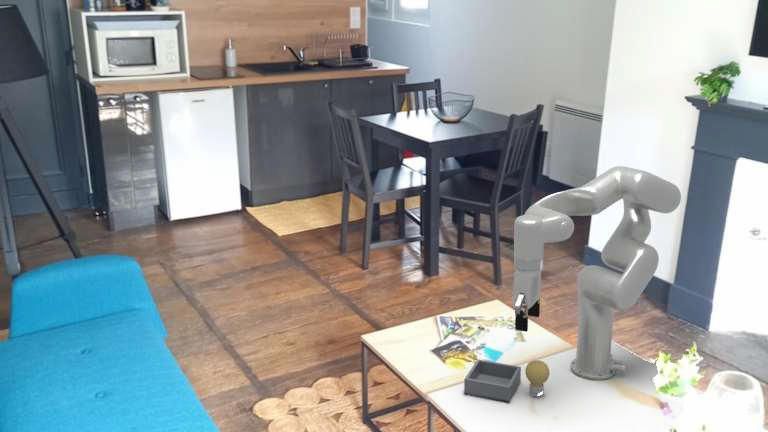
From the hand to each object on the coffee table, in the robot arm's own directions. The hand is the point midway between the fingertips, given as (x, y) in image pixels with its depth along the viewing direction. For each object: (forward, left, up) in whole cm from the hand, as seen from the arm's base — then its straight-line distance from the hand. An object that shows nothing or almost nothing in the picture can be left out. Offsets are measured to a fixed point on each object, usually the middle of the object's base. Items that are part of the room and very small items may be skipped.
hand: (527, 323), depth 193 cm
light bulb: (-3, -1, -21) cm, 22 cm away
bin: (+9, 0, -21) cm, 23 cm away
